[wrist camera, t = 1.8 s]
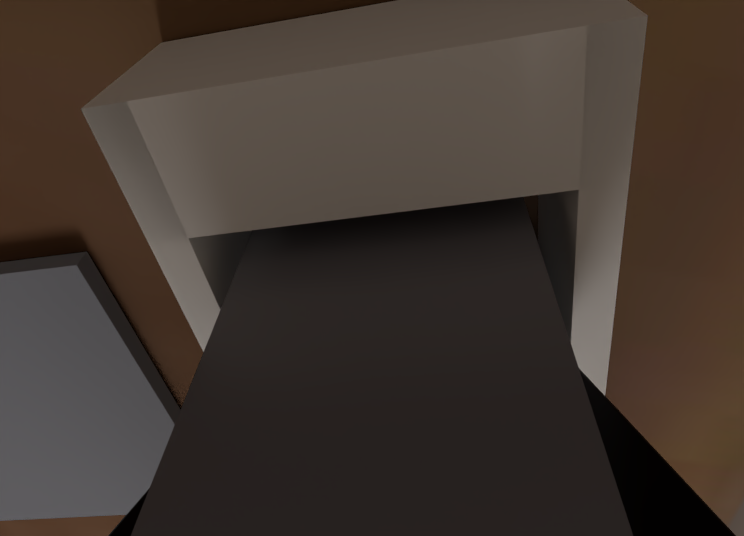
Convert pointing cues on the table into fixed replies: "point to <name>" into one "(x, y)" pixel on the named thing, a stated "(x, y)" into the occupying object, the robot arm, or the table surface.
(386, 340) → the grey rectangular block
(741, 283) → the table surface
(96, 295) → the slate mat
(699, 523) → the robot arm
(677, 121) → the table surface
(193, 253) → the power strip
